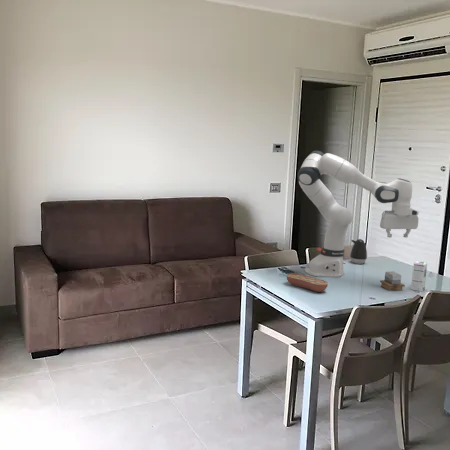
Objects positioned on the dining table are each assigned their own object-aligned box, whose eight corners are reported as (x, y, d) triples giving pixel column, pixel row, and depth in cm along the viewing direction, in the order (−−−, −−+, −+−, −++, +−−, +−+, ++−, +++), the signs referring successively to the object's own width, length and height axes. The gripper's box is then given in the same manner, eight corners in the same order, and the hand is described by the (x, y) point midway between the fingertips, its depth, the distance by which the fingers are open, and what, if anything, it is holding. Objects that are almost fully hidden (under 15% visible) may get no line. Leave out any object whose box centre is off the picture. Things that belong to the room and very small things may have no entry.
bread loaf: (282, 284, 258) (283, 275, 257) (293, 281, 265) (294, 272, 264) (320, 295, 243) (321, 285, 242) (331, 291, 250) (332, 282, 249)
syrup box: (422, 291, 258) (425, 264, 255) (410, 289, 261) (413, 262, 258) (424, 289, 263) (427, 262, 260) (412, 286, 266) (416, 260, 263)
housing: (391, 284, 257) (392, 275, 256) (384, 280, 263) (385, 271, 263) (400, 284, 258) (401, 275, 257) (392, 280, 265) (393, 271, 264)
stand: (388, 291, 256) (389, 285, 255) (379, 285, 264) (379, 280, 264) (404, 290, 258) (404, 284, 258) (394, 285, 267) (394, 279, 266)
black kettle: (348, 260, 317) (350, 236, 315) (364, 261, 317) (367, 238, 314) (350, 264, 307) (352, 240, 305) (367, 265, 307) (370, 241, 304)
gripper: (386, 211, 249) (383, 238, 251) (421, 212, 254) (418, 238, 256) (379, 209, 255) (376, 236, 257) (413, 210, 260) (410, 236, 262)
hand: (397, 237), depth 257 cm, fingers open, 8 cm apart
